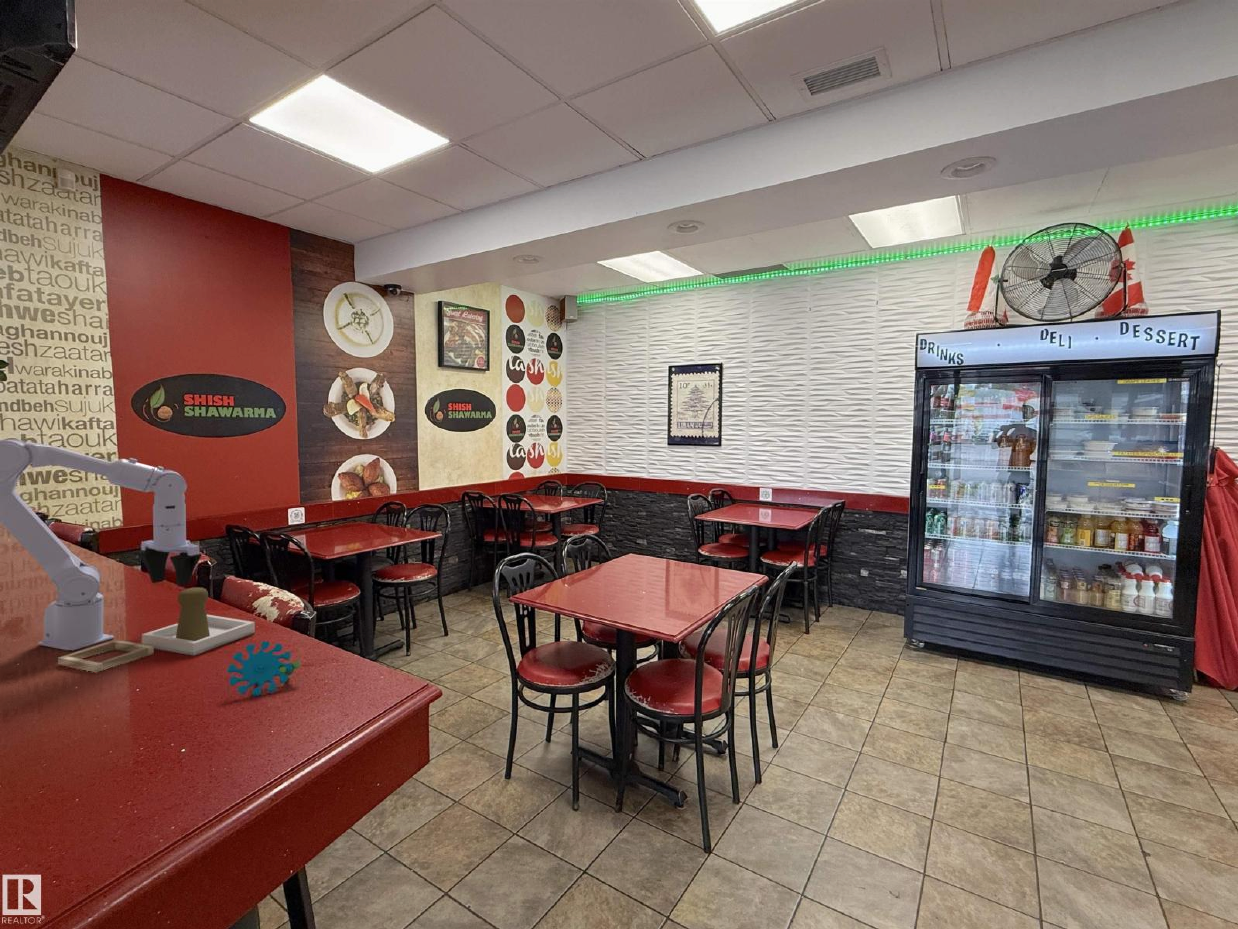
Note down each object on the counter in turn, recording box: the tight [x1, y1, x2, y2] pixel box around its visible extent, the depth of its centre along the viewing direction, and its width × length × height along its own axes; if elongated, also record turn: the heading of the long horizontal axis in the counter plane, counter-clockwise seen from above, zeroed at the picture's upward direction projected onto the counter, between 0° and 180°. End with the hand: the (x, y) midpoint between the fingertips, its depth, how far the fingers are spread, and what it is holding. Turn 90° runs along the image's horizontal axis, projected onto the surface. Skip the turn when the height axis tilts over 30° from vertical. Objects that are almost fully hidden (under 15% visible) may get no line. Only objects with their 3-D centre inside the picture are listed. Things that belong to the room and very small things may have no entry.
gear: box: [226, 640, 301, 697], centre depth 102 cm, size 11×6×10 cm
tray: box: [141, 614, 256, 657], centre depth 121 cm, size 14×14×2 cm
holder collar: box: [57, 639, 155, 674], centre depth 109 cm, size 10×10×2 cm
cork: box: [176, 587, 210, 641], centre depth 120 cm, size 6×6×11 cm
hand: (170, 583), depth 126 cm, fingers open, 7 cm apart
